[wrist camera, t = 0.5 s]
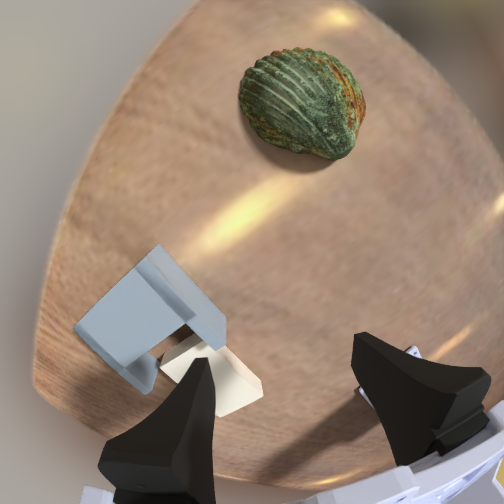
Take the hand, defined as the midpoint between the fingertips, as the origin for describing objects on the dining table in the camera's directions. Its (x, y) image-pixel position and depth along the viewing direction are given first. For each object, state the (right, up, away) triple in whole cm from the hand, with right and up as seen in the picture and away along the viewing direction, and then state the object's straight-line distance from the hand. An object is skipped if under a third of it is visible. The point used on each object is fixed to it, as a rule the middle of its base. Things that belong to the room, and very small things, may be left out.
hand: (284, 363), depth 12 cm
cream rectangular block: (-5, -5, +11) cm, 14 cm away
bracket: (-10, 0, +9) cm, 13 cm away
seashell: (+3, +17, +6) cm, 18 cm away
